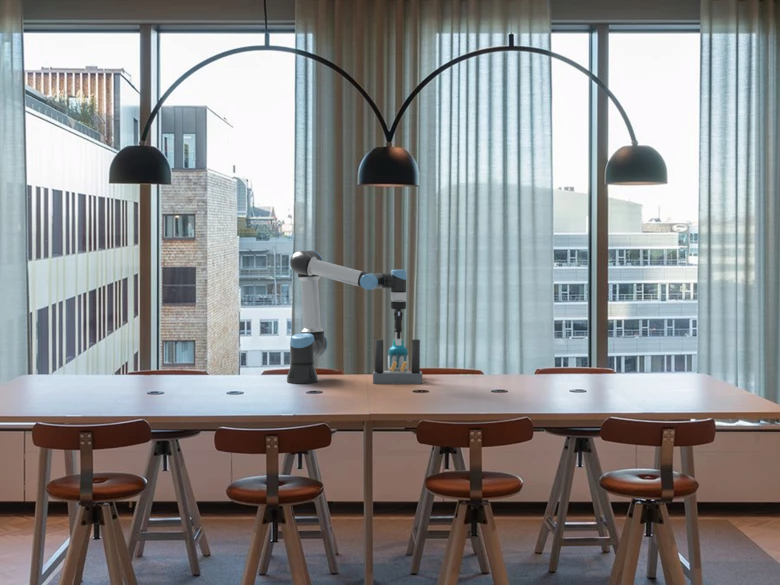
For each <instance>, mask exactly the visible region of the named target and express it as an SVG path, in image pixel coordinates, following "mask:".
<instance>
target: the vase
mask: <svg viewBox="0 0 780 585" xmlns="http://www.w3.org/2000/svg"><path fill="white" fill-rule="evenodd" d="M394 361H395V362H397V365H396V367H395V369H394V371H402V370H400V369H401V367H402V365H403V363H404V361H405V362H407V365H406V367H405V369H404V371H409V350H408V348H407V347H405V344H404V339H403V338H401V346H396V343H395V338H394V339H392V345H391V347H389V348H388V351H387V371H391V370H390V369H391V367H392V365H393V362H394Z"/></svg>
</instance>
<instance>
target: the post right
mask: <svg viewBox="0 0 780 585" xmlns="http://www.w3.org/2000/svg"><path fill="white" fill-rule="evenodd" d="M420 343H421V339H414V338H413V339H411V371H412V372H413V373H419V372H420V371H421V370H420V368H421V366H420V365H421V364H420V362H421V352H420V351H421V349H420V348H421V346H420V345H421V344H420Z"/></svg>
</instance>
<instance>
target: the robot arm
mask: <svg viewBox="0 0 780 585" xmlns="http://www.w3.org/2000/svg"><path fill="white" fill-rule="evenodd" d="M289 263H290V264H289V265H290V267H291V269H292V271H293V272H295V273H296V274H297V279H299V281H300V282H301V283H300V285H301V300H302V317H303V319H302V320H303V329H301V331H300V333H295V334H293V335H291V336H290V341H289V342H290V343H289V345H290V346H289V347H290V351H289V352H290V366H289V370H288V373H287V377H286V381H287V383H289V384H290V383H291V384H313V383H317V382H318V381H319V380H318V379H319V378H318V374H317V371H316V368H315V358H319V357H320V356H323V354H325V353H326V351H327V350H328V346H329V345H328V344H329V341H328V338H327V337H326V336H325V331H324V329H323V328H322V326H321V325H322V324H321V309H320V308H321V307H320V306H321V305H320V291H319V280H320V279H321V278H326V279H329V280H333V281H338V282H341V283H345V284H348V285H352V286H355V287H356V286H357V287H359V288H362V289H364V290H368V291H372V290H378V289H390V309H392V310H394V311H395V312H394V313H393V315H394V324H395V325H394V339H395V343H396V346H401V339H402V331H403V328H402V322H403V312H402V310H406V308H407V302H406V300H407V297H408V294H407V282H408V279H407V271H406V270H405V269H391V271H390V273H382V272H371V273H370V272H367V271H362V270H358V269H354V268H350V267H347V266H343V265H338V264H335V263H331V262H327V261H324V259H323V257H322V256H321V254H320V253H319V252H317V251H315V250H299V251H295V253H293V254H292V255H291V257H290V259H289Z"/></svg>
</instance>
